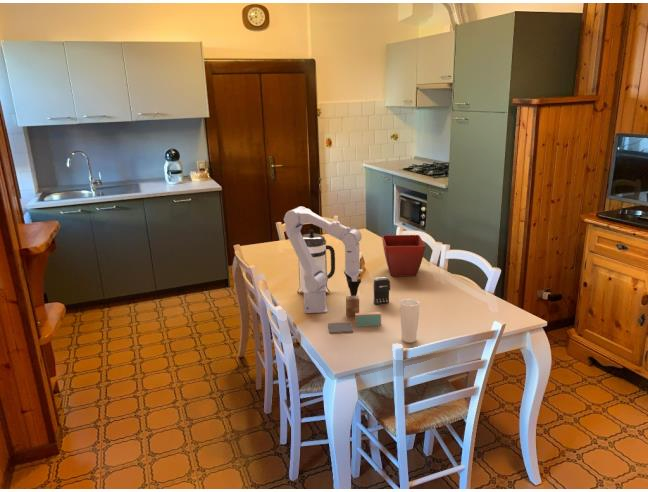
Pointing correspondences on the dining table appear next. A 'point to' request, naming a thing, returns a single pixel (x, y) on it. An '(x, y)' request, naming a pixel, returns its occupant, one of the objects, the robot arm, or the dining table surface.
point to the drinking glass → (409, 319)
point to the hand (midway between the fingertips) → (352, 291)
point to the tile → (368, 319)
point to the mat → (340, 327)
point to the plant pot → (403, 254)
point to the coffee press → (317, 256)
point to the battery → (381, 290)
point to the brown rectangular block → (352, 306)
